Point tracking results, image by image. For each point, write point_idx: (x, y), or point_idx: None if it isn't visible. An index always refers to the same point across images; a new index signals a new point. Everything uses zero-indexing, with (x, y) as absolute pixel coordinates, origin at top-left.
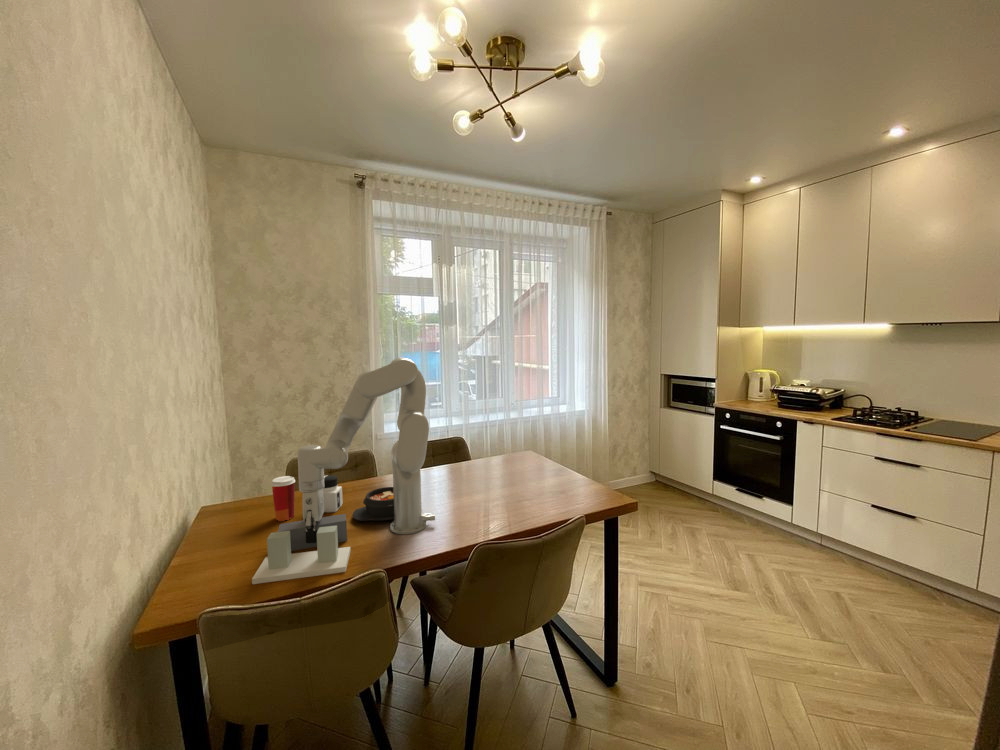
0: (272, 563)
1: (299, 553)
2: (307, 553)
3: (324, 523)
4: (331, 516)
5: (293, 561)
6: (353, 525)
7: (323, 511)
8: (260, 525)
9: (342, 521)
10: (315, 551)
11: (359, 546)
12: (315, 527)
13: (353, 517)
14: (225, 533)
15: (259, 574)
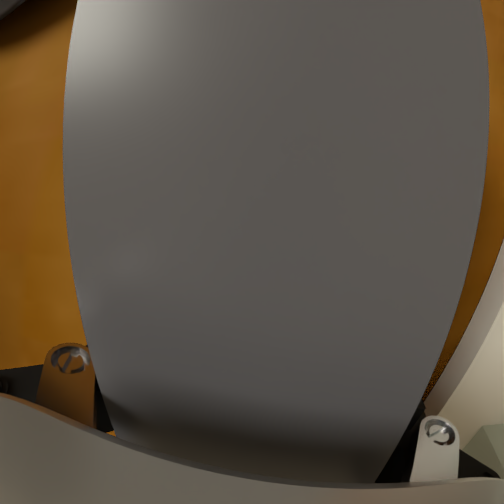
0: None
1: (449, 408)
2: (483, 369)
3: (410, 358)
4: (89, 202)
5: (501, 415)
6: (75, 9)
7: (80, 465)
8: None
9: (478, 18)
10: (497, 327)
11: (491, 16)
12: (432, 442)
13: (8, 12)
14: None
15: None
